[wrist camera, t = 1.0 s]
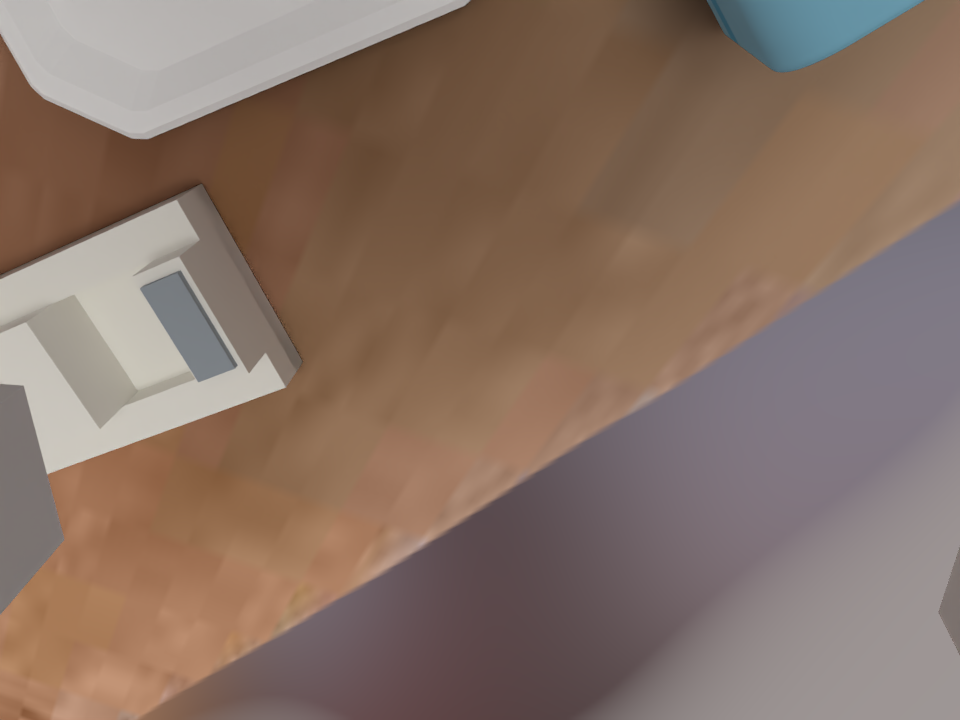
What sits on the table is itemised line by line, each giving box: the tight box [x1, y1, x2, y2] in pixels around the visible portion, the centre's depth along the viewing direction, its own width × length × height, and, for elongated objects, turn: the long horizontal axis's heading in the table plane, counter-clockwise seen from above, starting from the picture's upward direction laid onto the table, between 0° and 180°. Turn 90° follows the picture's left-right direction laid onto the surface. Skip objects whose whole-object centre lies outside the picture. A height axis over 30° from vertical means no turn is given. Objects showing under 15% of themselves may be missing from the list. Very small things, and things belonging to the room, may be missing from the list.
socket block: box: [0, 184, 303, 474], centre depth 39 cm, size 9×20×5 cm, turn 114°
